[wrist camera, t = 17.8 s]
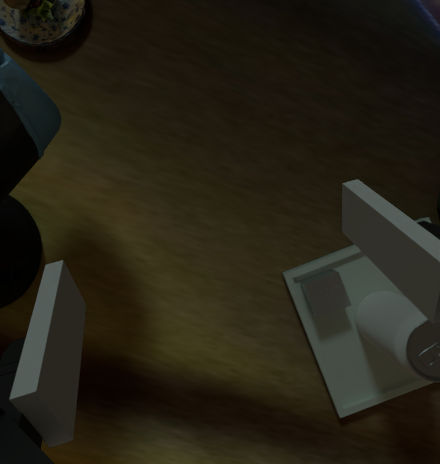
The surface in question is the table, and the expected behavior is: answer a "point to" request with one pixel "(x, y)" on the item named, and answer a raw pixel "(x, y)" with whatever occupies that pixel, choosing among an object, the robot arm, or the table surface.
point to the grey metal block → (325, 293)
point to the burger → (41, 22)
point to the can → (401, 333)
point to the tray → (350, 335)
